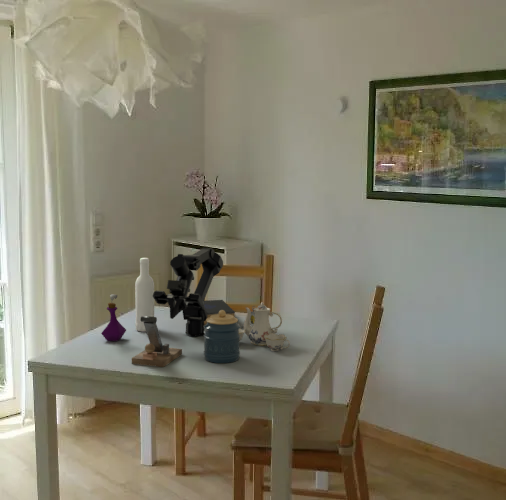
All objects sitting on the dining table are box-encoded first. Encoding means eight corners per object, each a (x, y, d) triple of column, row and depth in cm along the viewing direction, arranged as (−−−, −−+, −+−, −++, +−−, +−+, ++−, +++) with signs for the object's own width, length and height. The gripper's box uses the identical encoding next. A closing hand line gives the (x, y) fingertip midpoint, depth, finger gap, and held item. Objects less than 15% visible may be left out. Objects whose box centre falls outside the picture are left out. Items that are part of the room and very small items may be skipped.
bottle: (137, 332, 270) (136, 260, 266) (133, 327, 278) (133, 257, 274) (156, 331, 273) (156, 259, 269) (152, 326, 280) (152, 256, 276)
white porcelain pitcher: (236, 331, 274) (236, 307, 273) (243, 326, 282) (244, 303, 281) (254, 333, 271) (254, 309, 270) (261, 329, 279) (262, 305, 278)
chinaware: (216, 349, 254) (215, 308, 250) (233, 334, 269) (232, 295, 265) (286, 358, 244) (285, 315, 240) (299, 342, 259) (299, 302, 255)
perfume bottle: (119, 342, 255) (118, 297, 252) (101, 341, 256) (100, 296, 254) (126, 337, 262) (126, 293, 260) (109, 336, 264) (108, 292, 261)
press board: (152, 351, 245) (152, 332, 244) (182, 354, 241) (182, 335, 240) (131, 363, 229) (131, 343, 228) (163, 367, 226) (163, 346, 225)
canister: (226, 366, 228) (226, 316, 226) (196, 359, 235) (196, 311, 233) (246, 356, 239) (247, 309, 237) (217, 351, 246) (217, 304, 244)
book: (222, 313, 307) (222, 299, 306) (235, 327, 283) (235, 311, 282) (185, 315, 303) (185, 301, 302) (195, 329, 279) (195, 313, 278)
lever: (152, 347, 237) (142, 314, 228) (166, 348, 236) (156, 315, 226) (150, 351, 236) (140, 318, 226) (164, 353, 234) (153, 319, 225)
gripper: (154, 269, 250) (141, 304, 241) (200, 272, 245) (188, 308, 236) (163, 286, 259) (151, 320, 250) (207, 289, 253) (197, 324, 245)
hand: (171, 318), depth 245 cm, fingers closed
